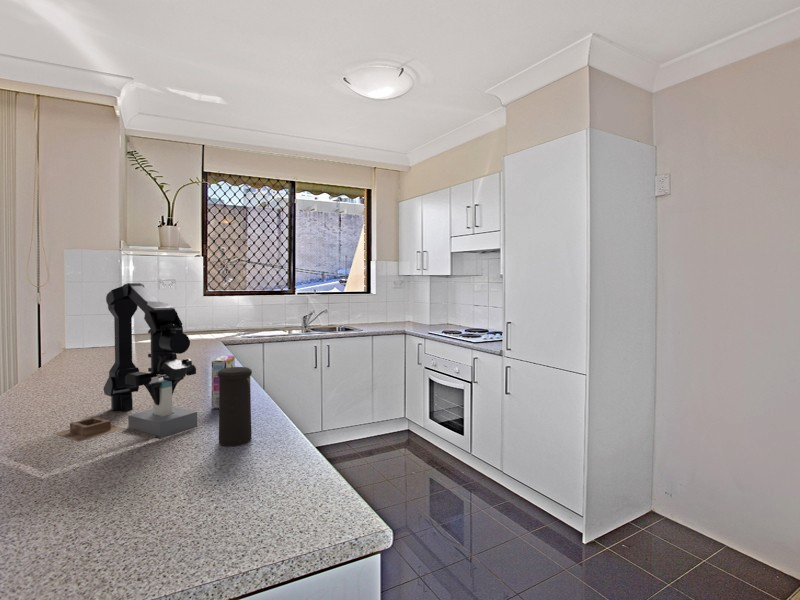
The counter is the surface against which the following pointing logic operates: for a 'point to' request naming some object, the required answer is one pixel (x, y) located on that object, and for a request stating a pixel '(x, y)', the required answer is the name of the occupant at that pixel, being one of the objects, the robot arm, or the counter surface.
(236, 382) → the container
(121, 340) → the robot arm
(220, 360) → the candy bar box
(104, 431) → the holster
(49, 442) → the counter surface
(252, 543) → the counter surface
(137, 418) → the socket block
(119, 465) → the counter surface
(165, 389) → the plug
